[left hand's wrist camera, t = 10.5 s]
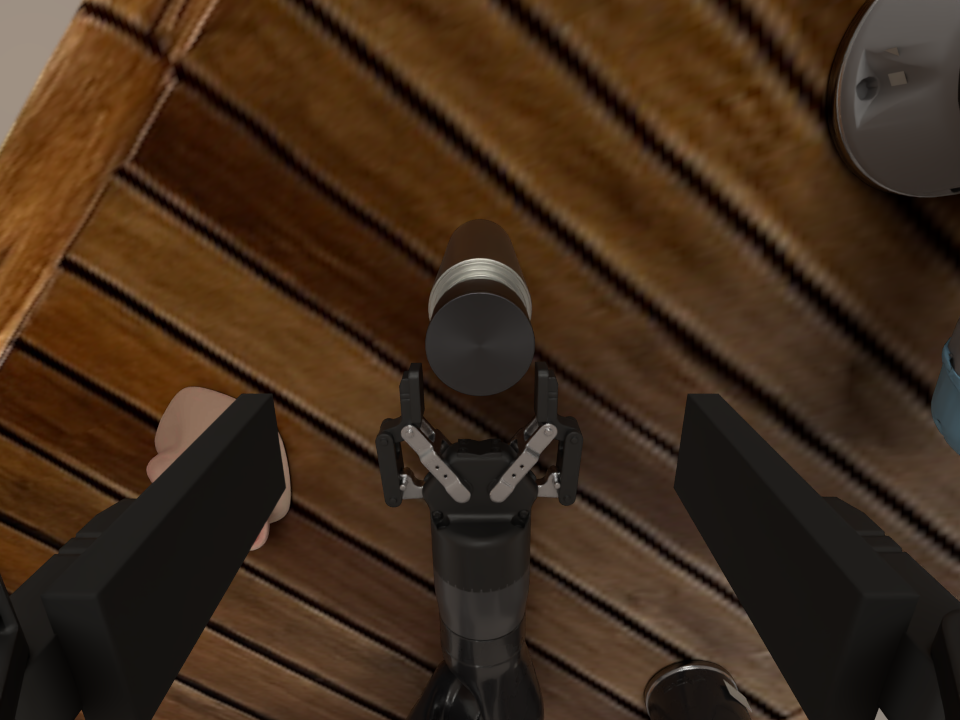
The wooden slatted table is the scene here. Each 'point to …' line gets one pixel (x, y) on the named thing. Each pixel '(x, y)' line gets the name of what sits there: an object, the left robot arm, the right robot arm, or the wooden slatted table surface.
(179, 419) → the anatomical model
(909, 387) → the wooden slatted table surface
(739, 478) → the left robot arm
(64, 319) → the wooden slatted table surface
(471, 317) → the cap
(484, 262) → the bottle
